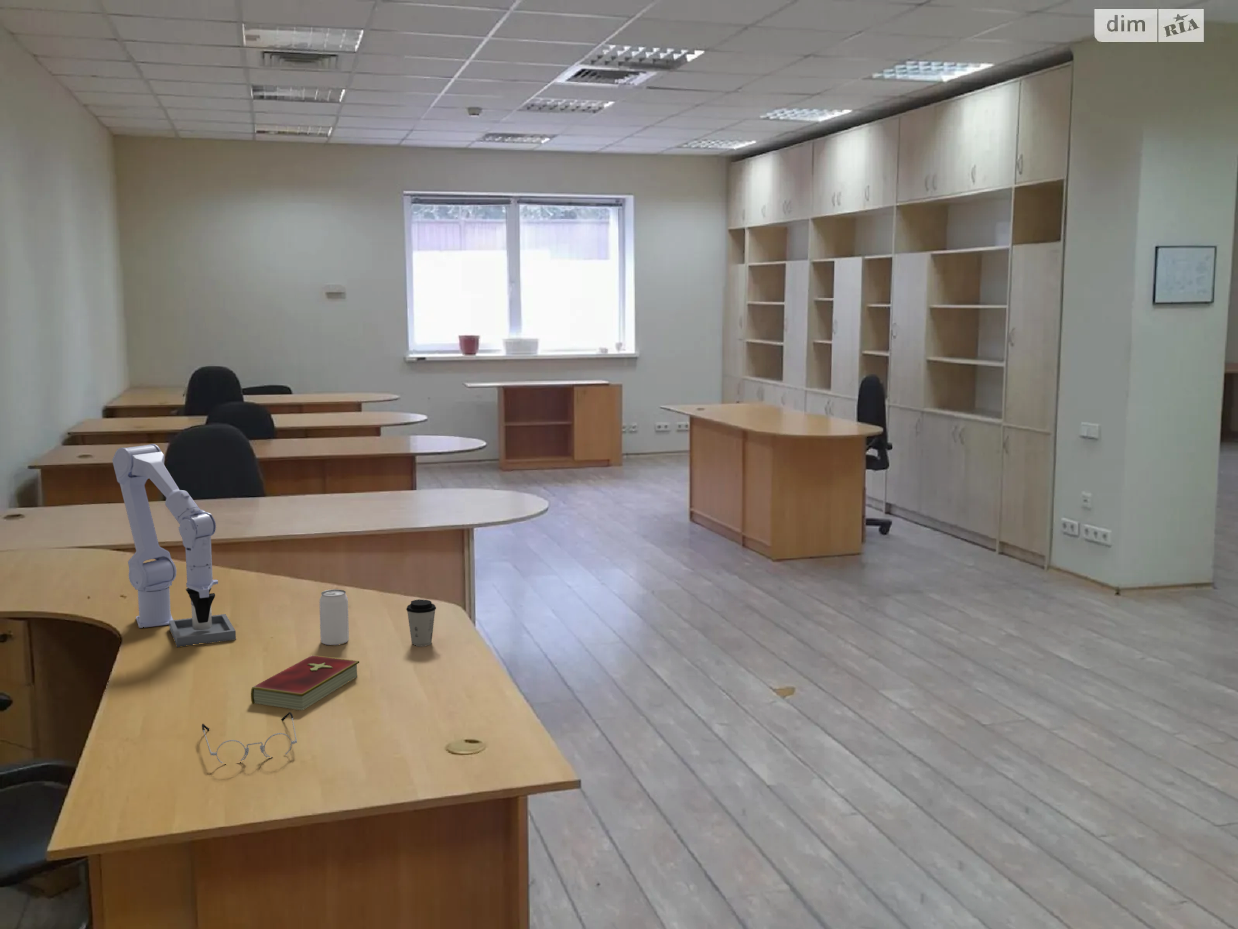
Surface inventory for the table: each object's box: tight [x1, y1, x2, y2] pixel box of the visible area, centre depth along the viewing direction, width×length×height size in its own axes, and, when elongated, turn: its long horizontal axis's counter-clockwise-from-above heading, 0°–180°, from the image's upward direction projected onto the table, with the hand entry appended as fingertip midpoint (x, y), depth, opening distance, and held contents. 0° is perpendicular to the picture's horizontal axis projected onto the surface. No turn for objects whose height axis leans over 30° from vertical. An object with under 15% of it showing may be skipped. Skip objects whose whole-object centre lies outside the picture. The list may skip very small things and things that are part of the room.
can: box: [319, 588, 350, 646], centre depth 254 cm, size 6×6×12 cm
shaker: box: [190, 599, 213, 630], centre depth 258 cm, size 5×5×7 cm
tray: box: [168, 613, 237, 648], centre depth 259 cm, size 15×13×2 cm
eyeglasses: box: [201, 711, 298, 764], centre depth 197 cm, size 16×19×5 cm
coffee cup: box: [405, 599, 437, 647], centre depth 254 cm, size 7×7×10 cm
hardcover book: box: [250, 654, 360, 711], centre depth 224 cm, size 12×21×4 cm, turn 162°
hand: (201, 619), depth 258 cm, fingers closed on shaker, 4 cm apart
